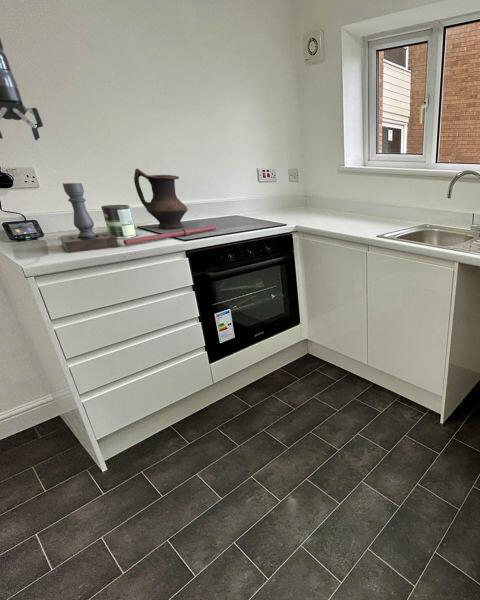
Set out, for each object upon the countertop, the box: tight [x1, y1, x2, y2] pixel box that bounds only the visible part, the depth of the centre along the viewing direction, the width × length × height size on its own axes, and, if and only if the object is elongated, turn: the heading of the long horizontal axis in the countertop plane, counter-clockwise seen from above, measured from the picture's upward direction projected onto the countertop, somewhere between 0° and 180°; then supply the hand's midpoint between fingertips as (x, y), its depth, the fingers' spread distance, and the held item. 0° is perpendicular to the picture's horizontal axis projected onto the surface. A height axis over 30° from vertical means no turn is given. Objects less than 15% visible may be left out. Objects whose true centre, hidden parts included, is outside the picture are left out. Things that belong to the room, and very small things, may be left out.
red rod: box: [122, 225, 217, 246], centre depth 167 cm, size 45×3×3 cm, turn 157°
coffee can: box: [100, 204, 137, 240], centre depth 163 cm, size 10×10×14 cm
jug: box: [133, 168, 188, 230], centre depth 185 cm, size 21×18×30 cm
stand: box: [59, 231, 120, 253], centre depth 146 cm, size 16×16×4 cm
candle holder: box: [62, 182, 96, 238], centre depth 142 cm, size 6×6×25 cm
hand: (19, 139), depth 121 cm, fingers open, 8 cm apart
